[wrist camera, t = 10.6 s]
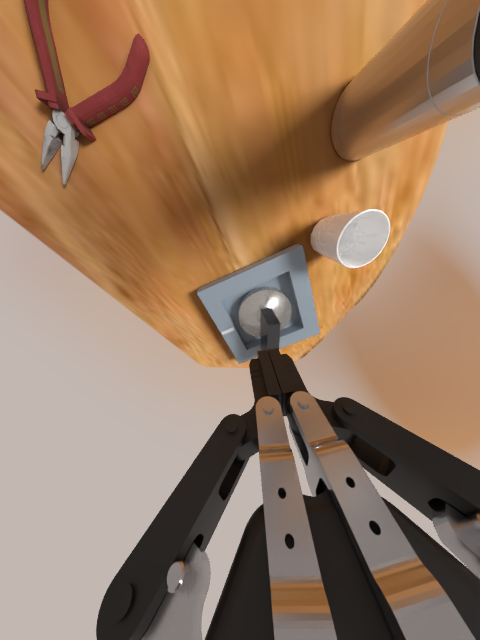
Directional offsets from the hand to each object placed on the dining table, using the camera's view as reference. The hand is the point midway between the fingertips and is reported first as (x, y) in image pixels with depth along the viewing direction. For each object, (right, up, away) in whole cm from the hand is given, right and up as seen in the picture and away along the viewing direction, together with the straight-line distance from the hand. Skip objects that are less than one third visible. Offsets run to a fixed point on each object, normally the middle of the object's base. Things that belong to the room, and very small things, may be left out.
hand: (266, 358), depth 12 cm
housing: (+3, +5, +28) cm, 29 cm away
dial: (+4, +3, +29) cm, 29 cm away
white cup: (+15, +20, +21) cm, 33 cm away
